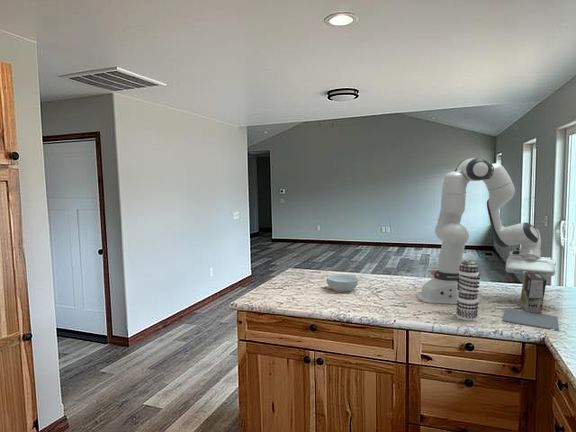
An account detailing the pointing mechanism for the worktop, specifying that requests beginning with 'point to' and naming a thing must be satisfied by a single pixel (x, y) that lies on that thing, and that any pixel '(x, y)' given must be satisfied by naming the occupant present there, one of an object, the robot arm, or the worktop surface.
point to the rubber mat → (531, 319)
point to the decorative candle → (468, 290)
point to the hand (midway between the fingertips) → (529, 280)
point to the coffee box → (533, 291)
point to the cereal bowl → (342, 282)
